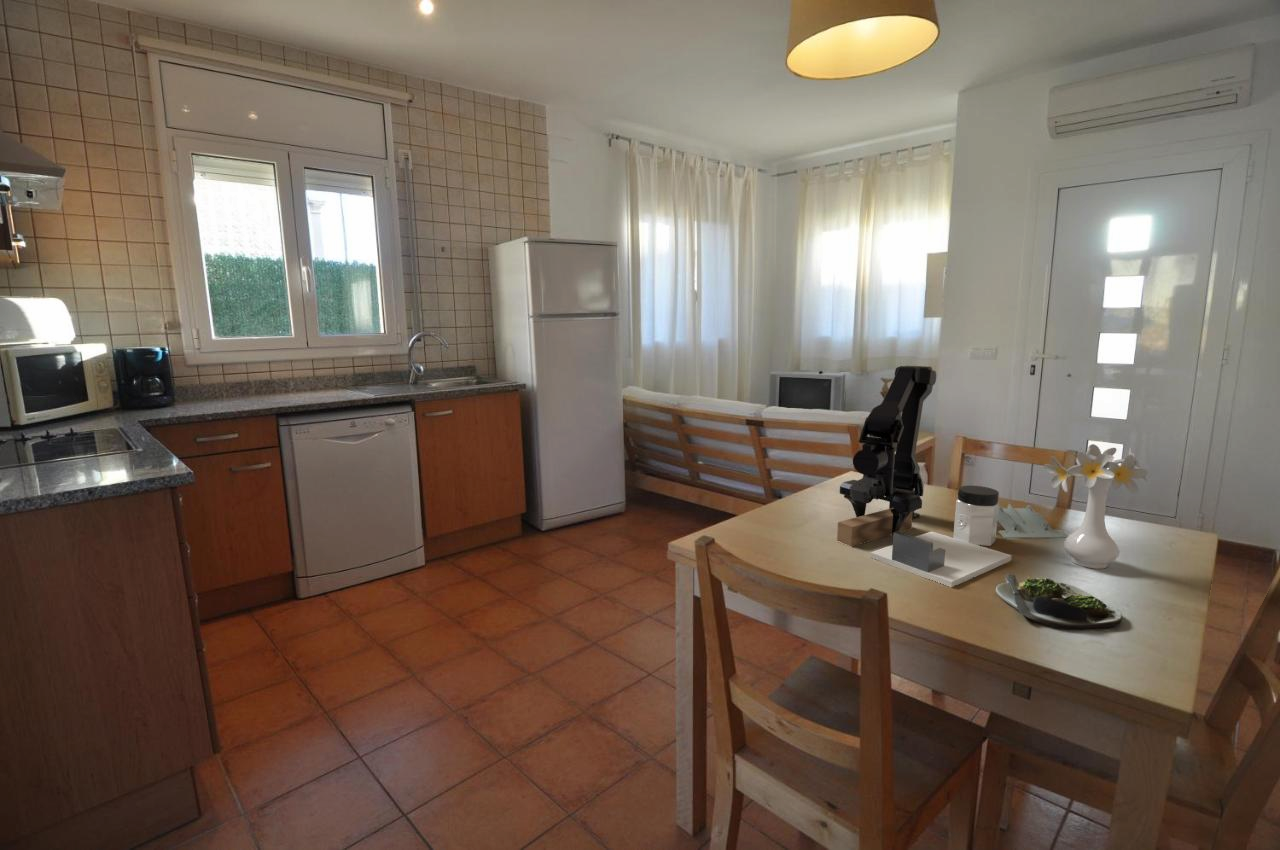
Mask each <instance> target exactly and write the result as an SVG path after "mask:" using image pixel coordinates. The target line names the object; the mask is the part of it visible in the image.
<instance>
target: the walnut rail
mask: <svg viewBox="0 0 1280 850" xmlns="http://www.w3.org/2000/svg"><path fill="white" fill-rule="evenodd" d="M891 509H894V508H890V509H889V508H887V509H884V510H878V511H876V512H871V513H868V514H865V515H863V516H860V517H851V518H849V519H845V520H841V521H838V522H837V533H836V534H837V535H836V536H837V537H836V540H837V541H840V542H842V543H844V544H843V545H845V544H847V545H849V546H848V547H850V546H852V547H855V546H854V545H856V546H859V545H861V544H860V543H863V544H865V543H864V542H866V543H868V542H867V541H869V542H872V541H871V540H873V541H875V540H874V539H876V540H878V538H879V539H883V538H885V537H889V536H893V535H892V523H893V514H892V512H891ZM912 515H913V511H912V512H910V514H909V515H908V516H907V518H906V519H905V521H904V522H903V524H902V526H901V528H900V529H899V531H898V532H901V533H903V532H906V531H909V530H908V529H910V530H912V529H913V526H912V525H913V518H912ZM911 528H912V529H911ZM905 530H906V531H905ZM902 531H903V532H902ZM882 537H883V538H882ZM837 541H836V542H837ZM840 542H839V543H840ZM842 543H841V544H842ZM858 544H859V545H858ZM847 545H846V546H847Z"/></svg>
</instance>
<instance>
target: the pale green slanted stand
mask: <svg viewBox="0 0 1280 850" xmlns="http://www.w3.org/2000/svg"><path fill="white" fill-rule="evenodd" d="M997 523H999V524H1000V526H1002V528H1003V529H1004V530H1001V529H1000V530H999V531H998V533H999V535H1000V536H1002V537H1003V538H1004V539H1005V538H1006V540H1019V539H1055V538H1063V539H1062V540H1065V539H1064V538H1067V537H1068V536H1069V535H1068V534H1067V533H1066V532H1065V530H1062V529H1053V528H1052V527H1051V526H1050V524H1049V523H1048V521H1047V520H1046V519H1044V518H1043V516H1042V515H1041V514H1039V513H1037V512H1036V511H1035V510H1034V509H1033V507H1032V505H1031V504H1030V505H1029V504H1027V505H1026V506H1025V507H1021V508H1019V507H1013V506H1012V505H1011V504H1010V503H1008V504H1007V507H1006V508H1005V507H1003V506H1002V505H1000V504H999V509H998V519H997Z"/></svg>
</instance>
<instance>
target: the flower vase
mask: <svg viewBox="0 0 1280 850" xmlns="http://www.w3.org/2000/svg"><path fill="white" fill-rule="evenodd" d="M1117 451H1118V450H1117V448H1116V447H1110V448H1107V449H1106V450H1103V452H1101V449H1100V448H1099V445H1096V444H1094V443H1092V444H1090V445H1089V446H1088V448H1087V450H1086V452H1084V451H1079V452H1077V453H1076V457H1075V458H1074V462H1075V463H1076V465H1073V466H1070V467H1069V468H1068V469H1067V468H1066V467H1064V465H1062V464H1061V463H1060V462H1059V461H1058V460H1057V458H1056V457H1055V456H1054V455H1052V456H1051V457H1050V459H1051V463H1052V464H1053V465H1052V464H1049V463H1045V464H1044V465H1043V468H1044V470H1045V471H1046V472H1047V473H1049V474H1051V475H1054V476H1053V477H1052V478H1051V481H1050V485H1051V486H1050V487H1051V488H1053V489H1057V487H1059V486H1060V484H1061V488H1062V491H1064V493H1068V490H1069V489H1068V487H1069V486H1068V481H1069V477H1072V476H1073V477H1083V484H1084V486H1085V488H1088V497H1087V504H1086V508H1085V509H1086V510H1085V513H1084V518H1083V521H1082V523H1081V524H1080V526H1079V527H1078V528H1077V529H1076V530H1075V531H1072V532H1071V533H1070V534H1069V535H1068V537H1067V538H1066V539H1064V542H1063V547H1064V548H1063V549H1065V551H1066V553H1067V554H1068V555H1069V556H1070V560H1071V562H1072V563H1074V564H1076V565H1078V566H1081V567H1083V568H1089V569H1095V570H1096V569H1097V570H1100V569H1101V570H1102V569H1106V568H1108V566H1109V565H1108V564H1109V563H1112V562H1114V561H1115V560H1116V559H1118V557H1119V555H1120V549H1119V546H1118V545H1117V543H1116V541H1115V540H1114V539H1113V538H1112V537H1111V536H1110V535H1109V532H1108V530H1107V528H1106V505H1107V504H1106V503H1107V502H1106V501H1107V496H1108V492H1109V489H1110V487H1111V489H1113V490H1114V491H1115V490H1118V489H1121V487H1122V486H1124V487H1125V488H1126V490H1128V491H1129V492H1130V493H1132V494H1134V495H1135V494H1138V492H1139V488H1138V487H1139V486H1138V484H1137V483H1136V481H1135V479H1136V480H1137V479H1143V480H1144V481H1146V482H1147V483H1149V480H1148V479H1147V477H1146V476H1148V474H1149V473H1148V470H1147V469H1144V468H1141V465H1140V463H1139V461H1138V460H1137V458H1136V455H1135V453H1134V452H1133V451H1132V448H1131V446H1129V450H1128V455H1127V456H1126V457H1125V459H1124V458H1123V459H1122V458H1121V459H1115V457H1114V455H1115V453H1117ZM1114 459H1115V460H1114ZM1120 464H1121V465H1120Z"/></svg>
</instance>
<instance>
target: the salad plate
mask: <svg viewBox="0 0 1280 850" xmlns="http://www.w3.org/2000/svg"><path fill="white" fill-rule="evenodd" d="M1004 578H1005V581H1006V582H1004V583H1003V582H1002V583H999V584H998V585H997V586H996V588H995V593H996V594H997V595H998V596H999V597H1000V598H1001V599H1002V600H1003V601H1004V602H1006V603H1007V604H1008V605H1010V606H1011V607H1012V608H1014V609H1015V610H1016V611H1017V612H1019V613H1020V614H1021V615H1022V616H1023V617H1025V618H1027V619H1029V620H1031V621H1032V622H1035V623H1037V624H1040V625H1043V626H1046V627H1050V628H1055V629H1059V630H1067V631H1090V630H1091V631H1093V630H1095V631H1096V630H1107V629H1110V628H1114V627H1116V626H1119V625H1120V624H1121V623H1122V619H1123V616H1122V615H1123V614H1122V612H1121V611H1120V609H1118V608H1116V607H1115V606H1113V605H1111V604H1109V603H1107V602H1105V601H1103V600H1101V599H1099V598H1097V597H1095V596H1093V595H1092V594H1091V593H1088V592H1087V591H1085V590H1083V589H1081V588H1080V587H1076V586H1074V585H1071V584H1068V583H1063V582H1059V581H1054V580H1053V579H1051V578H1047V577H1045V578H1038V577H1037V578H1032V577H1031V575H1027V576H1026V580H1025V581H1022V582H1021V581H1019V580H1018V579H1017V576H1016V575H1015V574H1012V573H1006V574H1005V575H1004Z"/></svg>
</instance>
